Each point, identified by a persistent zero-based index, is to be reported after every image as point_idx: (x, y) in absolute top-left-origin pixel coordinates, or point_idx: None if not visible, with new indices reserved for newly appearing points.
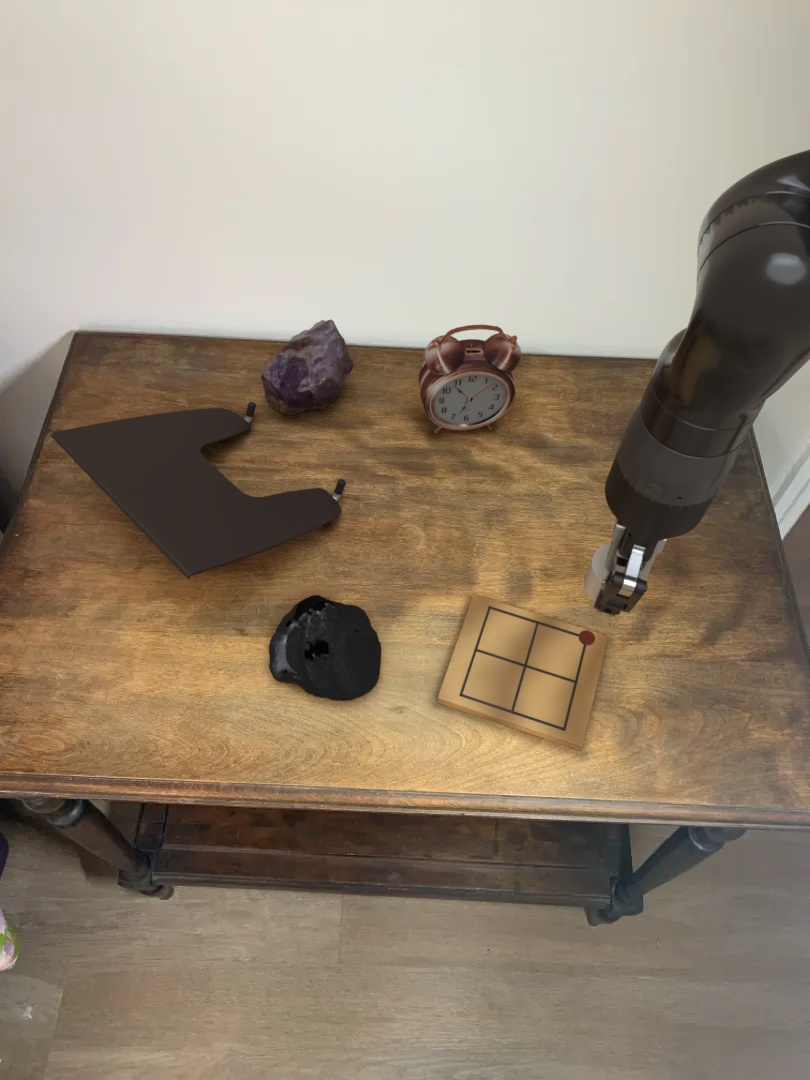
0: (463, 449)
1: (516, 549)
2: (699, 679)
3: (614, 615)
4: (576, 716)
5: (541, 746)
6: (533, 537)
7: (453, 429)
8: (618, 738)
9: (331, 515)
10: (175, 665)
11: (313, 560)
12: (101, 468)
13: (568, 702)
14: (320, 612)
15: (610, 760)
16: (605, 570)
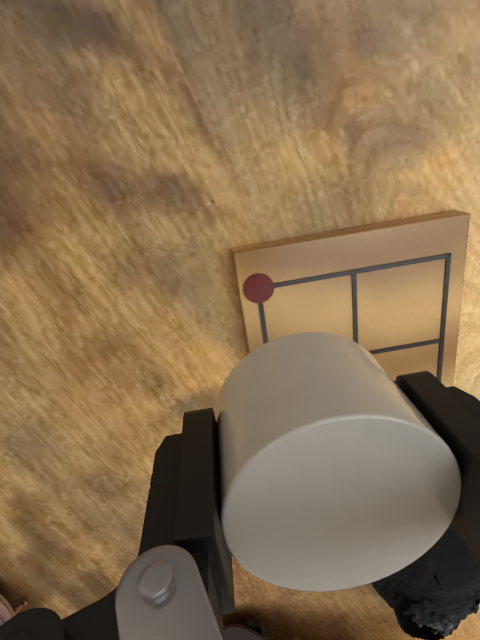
0: (22, 564)
1: (142, 439)
2: (217, 22)
3: (463, 391)
4: (418, 245)
5: None
6: (103, 428)
7: (5, 600)
8: (412, 153)
9: (253, 638)
10: (471, 618)
11: (303, 599)
12: None
13: (395, 268)
14: (436, 626)
15: (458, 152)
16: (388, 545)
